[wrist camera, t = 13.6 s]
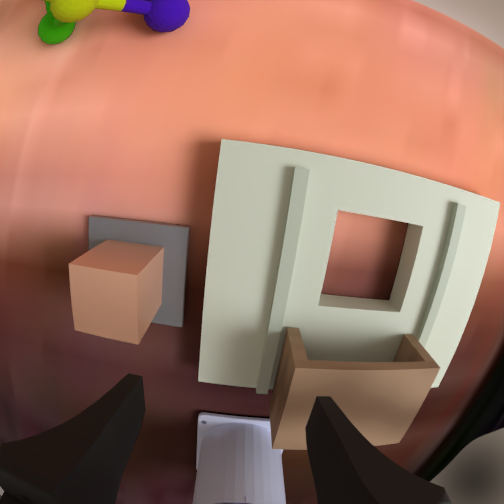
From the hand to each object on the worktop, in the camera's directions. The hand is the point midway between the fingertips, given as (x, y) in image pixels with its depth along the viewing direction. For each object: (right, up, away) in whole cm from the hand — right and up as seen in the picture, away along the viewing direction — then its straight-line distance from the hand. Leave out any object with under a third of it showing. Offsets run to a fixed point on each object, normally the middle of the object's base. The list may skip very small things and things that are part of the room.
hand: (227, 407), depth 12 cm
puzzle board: (+8, +4, +9) cm, 13 cm away
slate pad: (-7, +5, +9) cm, 12 cm away
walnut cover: (+7, -2, +9) cm, 12 cm away
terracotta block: (-7, +5, +8) cm, 12 cm away
